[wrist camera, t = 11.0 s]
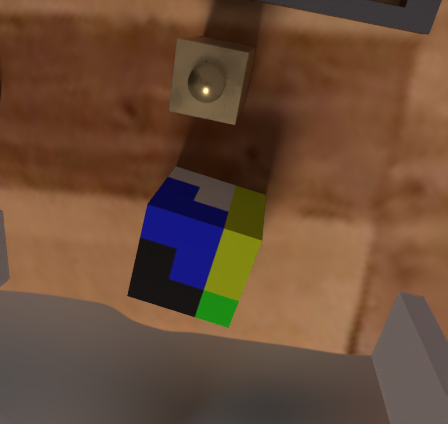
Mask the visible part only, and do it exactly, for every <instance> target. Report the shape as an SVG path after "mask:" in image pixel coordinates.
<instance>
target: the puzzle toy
mask: <svg viewBox="0 0 448 424" xmlns="http://www.w3.org/2000/svg"><path fill="white" fill-rule="evenodd" d="M265 200H266V195H264V194H261V193H258V192H255V191H252V190H249V189H246V188H242V187H239V186H236V185H233V184H230V183H227V182H224V181H220V180H217V179H214V178H211V177H208V176H205V175H202V174H198V173H195V172H192V171H189V170H186V169H183V168H180V167H175V168H174V169H173V171H172V172H171V173H170V175H169V176H168V177H167V179H166V180H165V181H164V183H163V184H162V185H161V187H160V188H159V189H158V191H157V192H156V193H155V195H154V196H153V198H152V199H151V200H150V202H149V203H148V204H147V209H146V213H145V218H144V222H143V227H142V231H141V236H140V241H139V245H138V250H137V254H136V259H135V263H134V268H133V272H132V277H131V282H130V286H129V291H128V295H127V296H129V297H132V298H136V299H139V300H142V301H145V302H148V303H151V304H155V305H158V306H161V307H164V308H167V309H170V310H174V311H177V312H180V313H183V314H186V315H189V316H193V317H196V318H199V319H202V320H205V321H208V322H212V323H215V324H218V325H221V326H224V327H227V328H229V325H230V323H231V320H232V317H233V315H234V312H235V310H236V307H237V305H238V302H239V299H240V297H241V294H242V292H243V289H244V286H245V284H246V281H247V279H248V276H249V273H250V271H251V268H252V266H253V263H254V260H255V258H256V255H257V253H258V250H259V248H260V245H261V242H262V237H263V225H264V212H265Z"/></svg>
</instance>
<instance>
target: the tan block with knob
mask: <svg viewBox="0 0 448 424" xmlns="http://www.w3.org/2000/svg"><path fill="white" fill-rule="evenodd" d="M255 52H256V46H251V45H246V44H242V43H237V42H232V41H227V40H222V39H217V38H212V37H207V36H195V37H185V38H177V46H176V54H175V63H174V72H173V80H172V89H171V97H170V106H169V111H171V112H176V113H181V114H186V115H190V116H195V117H200V118H205V119H209V120H214V121H219V122H224V123H228V124H233V125H235V124H236V122H237V119H238V117H239V115H240V113H241V111H242V109H243V106H244V104H245V102H246V97H247V92H248V87H249V82H250V77H251V72H252V67H253V62H254V57H255Z"/></svg>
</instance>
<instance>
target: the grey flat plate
mask: <svg viewBox="0 0 448 424" xmlns="http://www.w3.org/2000/svg"><path fill="white" fill-rule="evenodd" d="M252 1H257V2H262V3H267V4H273V5H278V6H283V7H288V8H293V9H298V10H303V11H308V12H313V13H318V14H323V15H328V16H333V17H338V18H343V19H348V20H353V21H358V22H363V23H369V24H374V25H379V26H384V27H389V28H394V29H399V30H404V31H409V32H414V33H419V34H429V33H430V30H431V27H432V25H433V22H434V19H435V17H436V14H437V11H438V9H439V6H440V3H441V1H442V0H401V2H400V5H399V6H394V5H389V4H384V3H379V2H374V1H369V0H252Z"/></svg>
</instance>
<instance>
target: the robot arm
mask: <svg viewBox="0 0 448 424" xmlns="http://www.w3.org/2000/svg"><path fill="white" fill-rule="evenodd" d="M9 278H10V276H9V267H8V257H7V247H6V237H5V227H4V217H3V211H2V210H0V287H1V286H2V285H3V284H4V283H5V282H6V281H7V280H8V279H9ZM372 359H373V363H374V366H375V370H376V374H377V377H378V380H379V384H380V388H381V392H382V395H383V399H384V402H385V406H386V410H387V413H388V417H389V420H390V424H448V341H447V340H446V338H445V336H444V334H443V332H442V330H441V328H440V326H439V325H438V323H437V321H436V319H435V317H434V315H433V313H432V311H431V310H430V308H429V306H428V304H427V302H426V300H425V298H424V297H423V296H418V295H413V294H408V293H403V292H399V293H398V296H397V298H396V300H395V303H394V305H393V307H392V310H391V312H390V314H389V316H388V319H387V321H386V323H385V326H384V328H383V330H382V333H381V335H380V337H379V339H378V342H377V344H376V346H375V349H374V351H373V353H372Z"/></svg>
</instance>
